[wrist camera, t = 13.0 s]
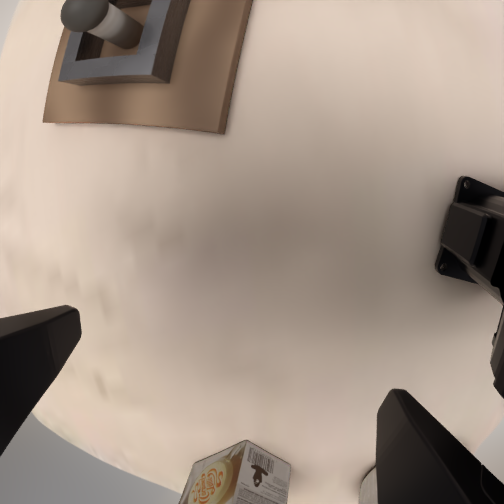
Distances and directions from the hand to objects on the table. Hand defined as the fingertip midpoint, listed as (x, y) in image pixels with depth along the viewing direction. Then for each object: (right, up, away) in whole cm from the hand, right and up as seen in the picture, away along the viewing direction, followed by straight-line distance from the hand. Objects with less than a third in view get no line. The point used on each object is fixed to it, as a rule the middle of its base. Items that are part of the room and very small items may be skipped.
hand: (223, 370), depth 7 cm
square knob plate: (-7, +17, +9) cm, 20 cm away
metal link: (-7, +17, +7) cm, 19 cm away
